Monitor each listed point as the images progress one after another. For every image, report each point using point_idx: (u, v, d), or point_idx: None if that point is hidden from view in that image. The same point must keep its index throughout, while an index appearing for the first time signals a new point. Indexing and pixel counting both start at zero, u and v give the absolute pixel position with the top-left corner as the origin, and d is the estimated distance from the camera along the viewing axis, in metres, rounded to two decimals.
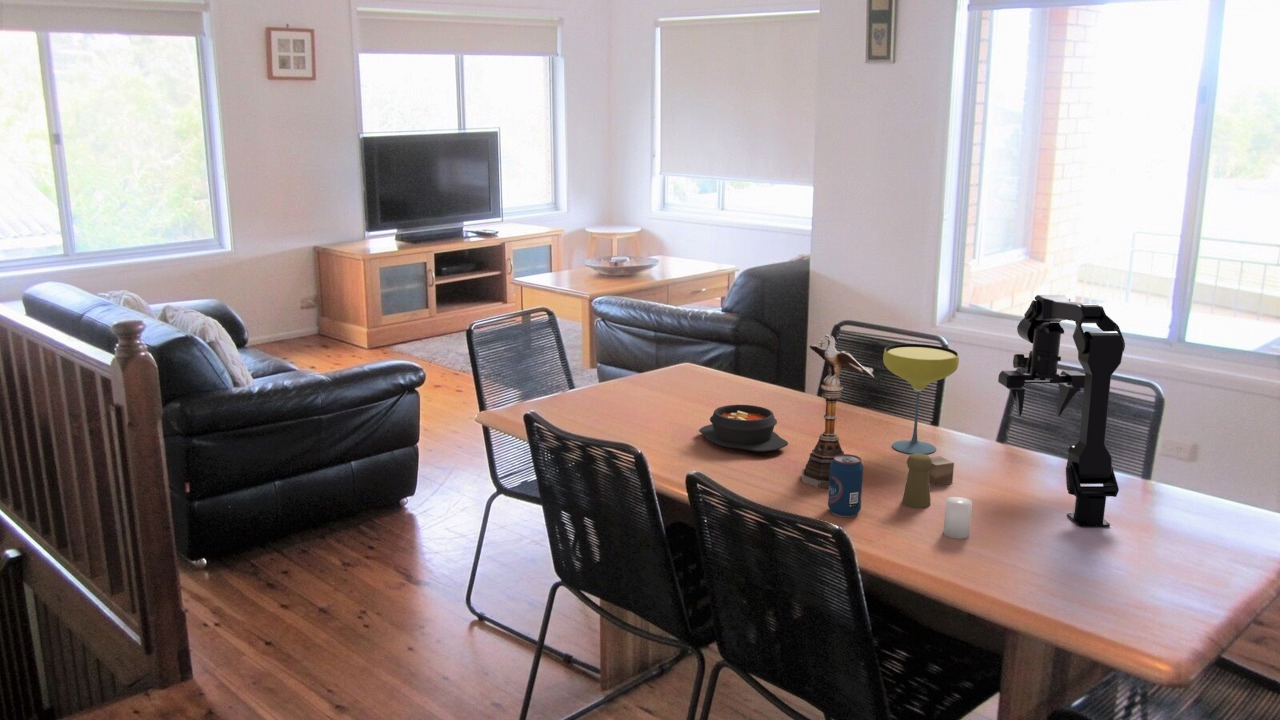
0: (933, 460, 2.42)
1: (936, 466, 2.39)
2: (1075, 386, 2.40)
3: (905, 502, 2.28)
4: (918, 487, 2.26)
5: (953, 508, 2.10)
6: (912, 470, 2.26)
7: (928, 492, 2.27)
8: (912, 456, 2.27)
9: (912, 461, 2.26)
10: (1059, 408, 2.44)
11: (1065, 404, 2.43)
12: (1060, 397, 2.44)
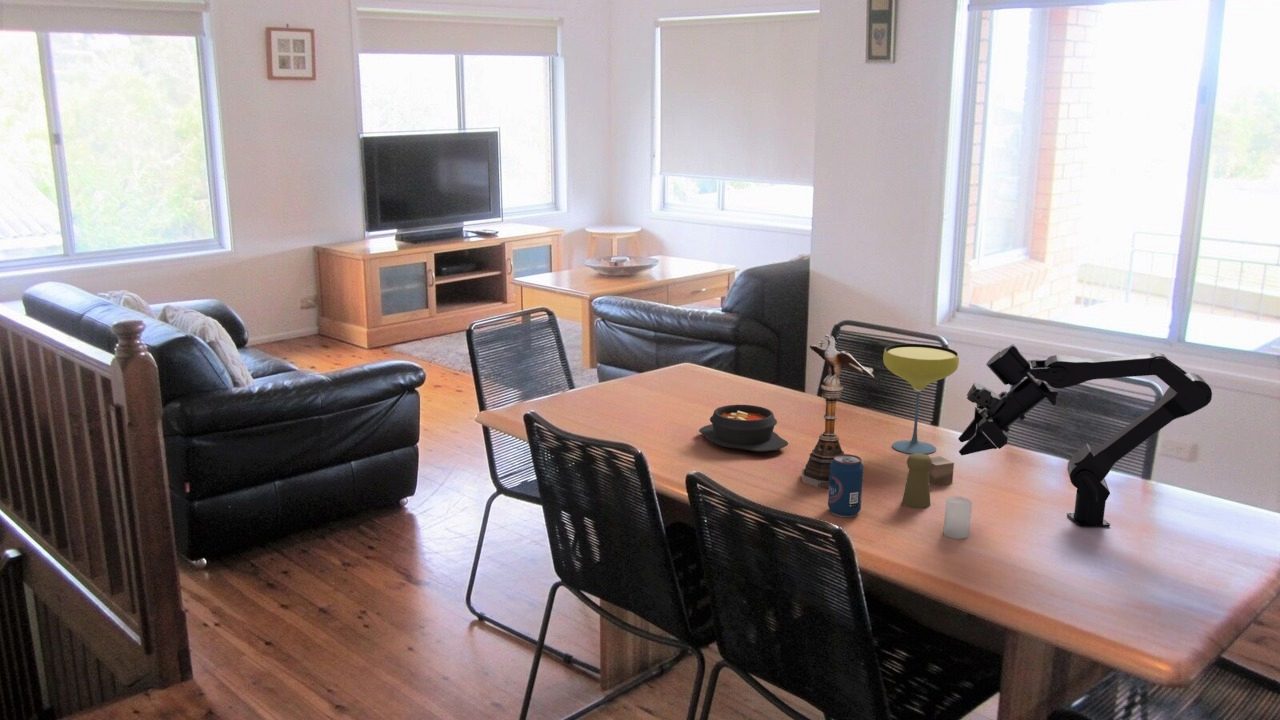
0: (933, 460, 2.42)
1: (936, 466, 2.39)
2: None
3: (905, 502, 2.28)
4: (918, 487, 2.26)
5: (953, 508, 2.10)
6: (912, 470, 2.26)
7: (928, 492, 2.27)
8: (912, 456, 2.27)
9: (912, 461, 2.26)
10: (967, 437, 2.28)
11: None
12: (974, 427, 2.27)
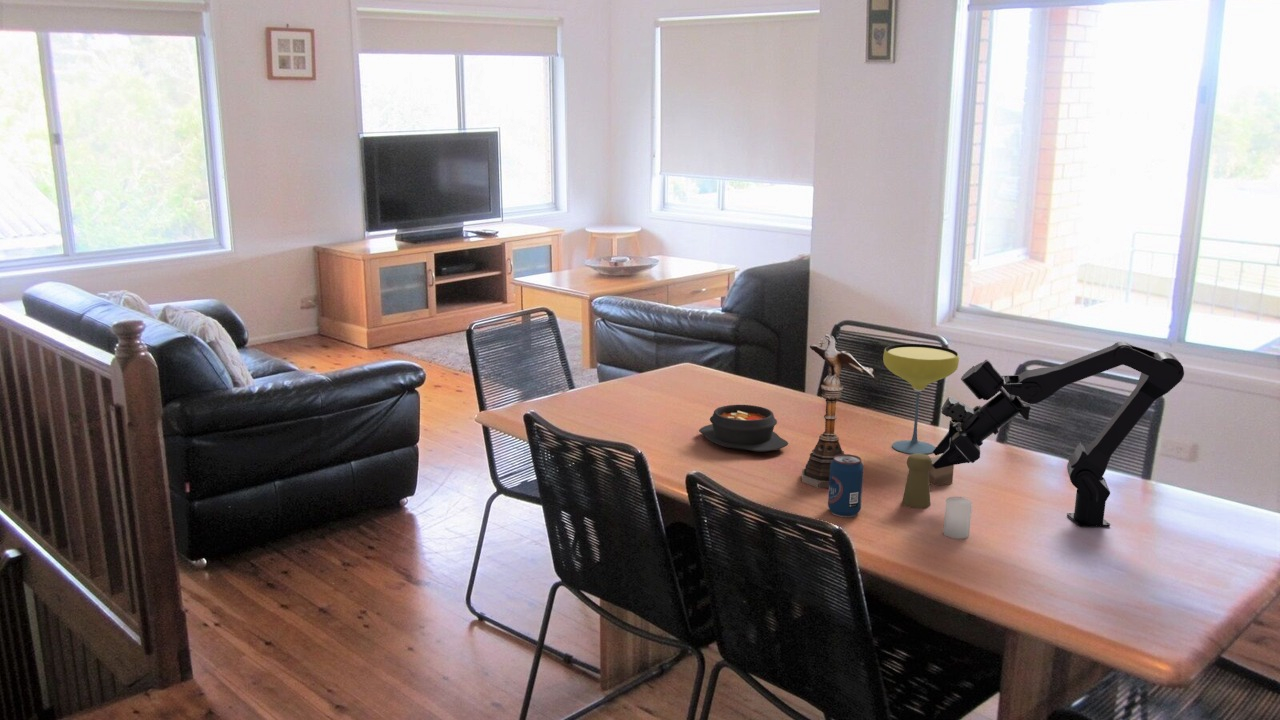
0: (933, 460, 2.42)
1: None
2: None
3: (905, 502, 2.28)
4: (918, 487, 2.26)
5: (953, 508, 2.10)
6: (912, 470, 2.26)
7: (928, 492, 2.27)
8: (912, 456, 2.27)
9: (912, 461, 2.26)
10: (941, 450, 2.30)
11: None
12: (948, 440, 2.29)
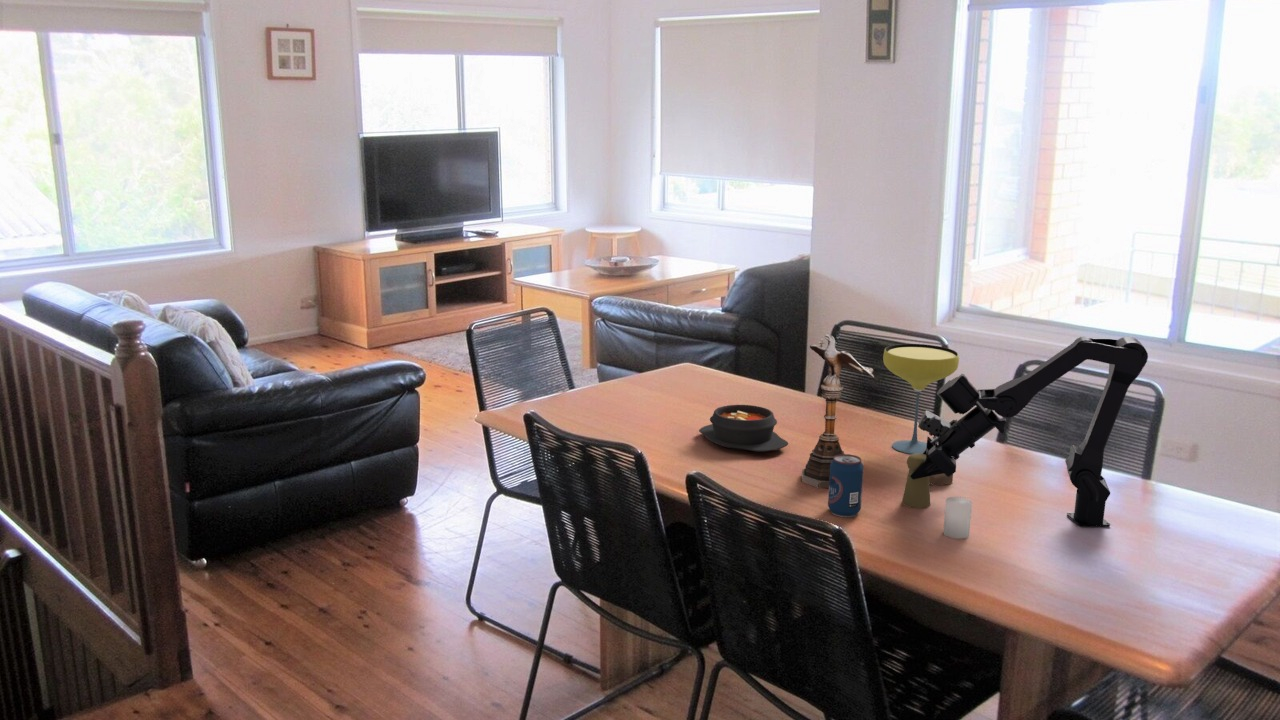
0: None
1: None
2: None
3: (905, 502, 2.28)
4: (918, 487, 2.26)
5: (953, 508, 2.10)
6: (912, 470, 2.26)
7: (928, 492, 2.27)
8: (912, 456, 2.27)
9: (912, 461, 2.26)
10: None
11: None
12: None
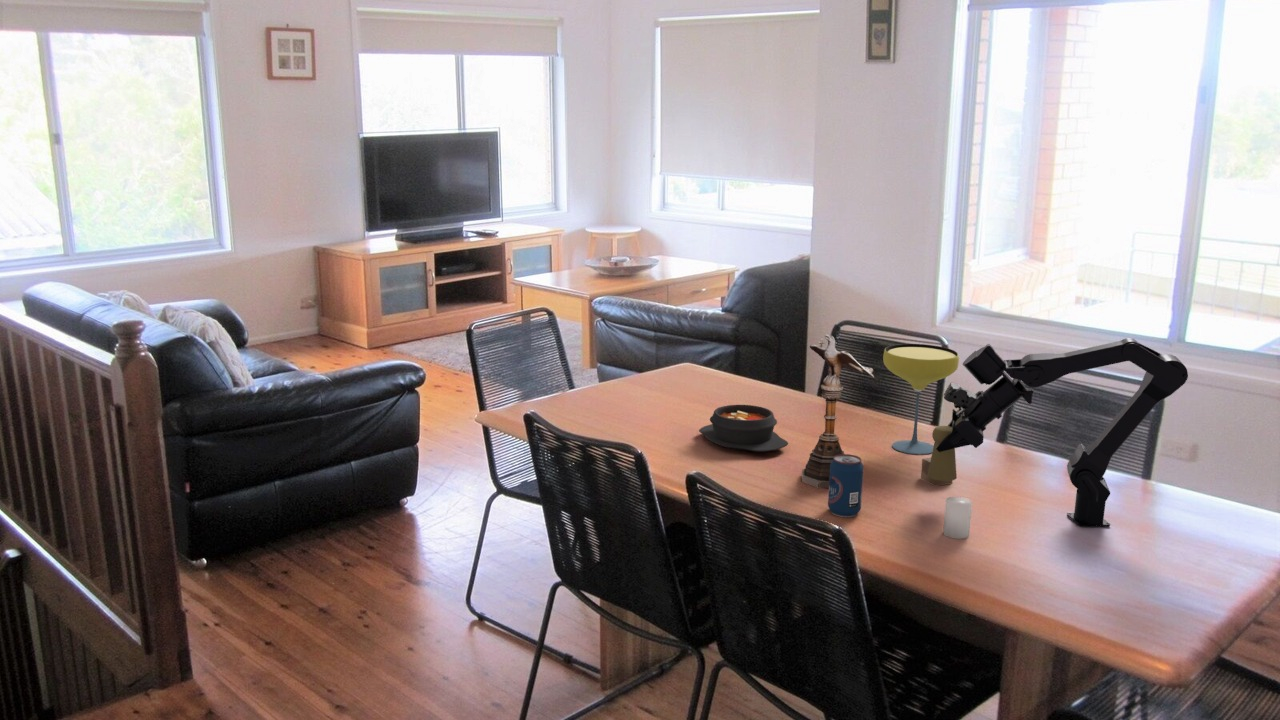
0: None
1: None
2: None
3: (931, 475, 2.25)
4: (944, 460, 2.23)
5: (953, 508, 2.10)
6: (938, 442, 2.24)
7: (954, 465, 2.24)
8: (938, 428, 2.24)
9: (938, 433, 2.23)
10: None
11: None
12: None
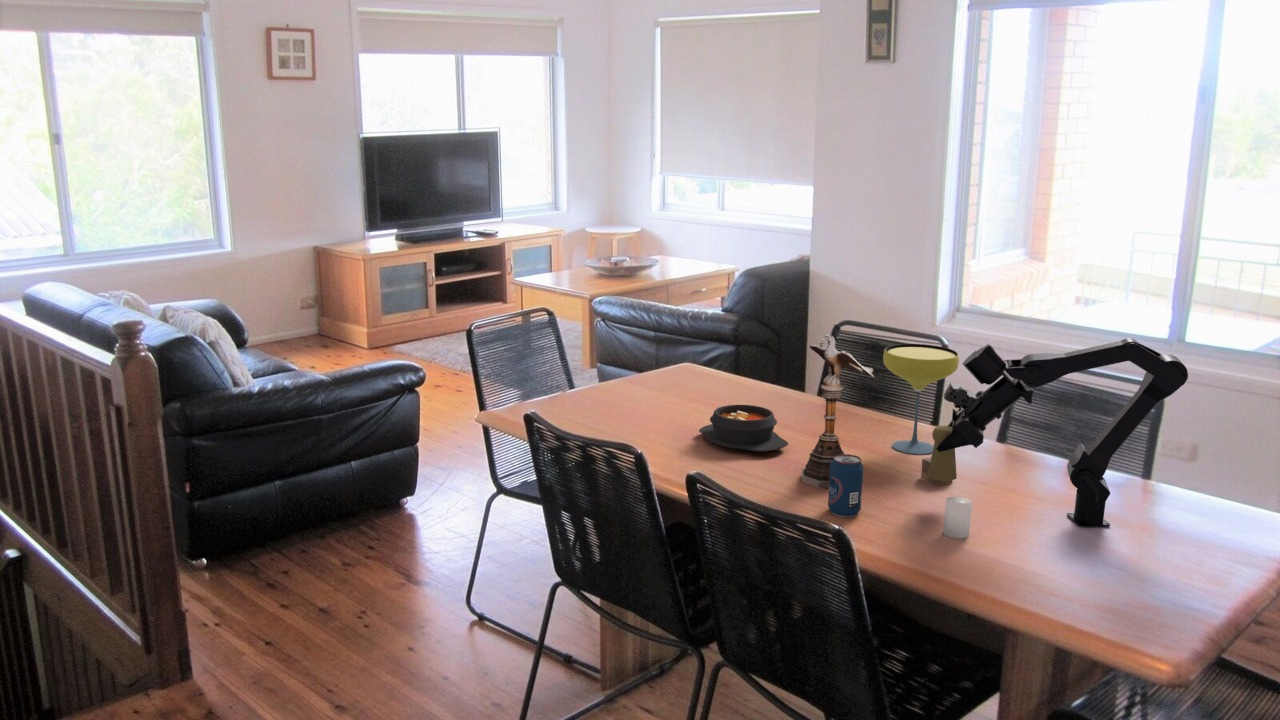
0: None
1: None
2: None
3: (931, 475, 2.25)
4: (944, 459, 2.23)
5: (953, 508, 2.10)
6: (938, 442, 2.23)
7: (954, 464, 2.24)
8: (938, 428, 2.24)
9: (938, 433, 2.23)
10: None
11: None
12: None
